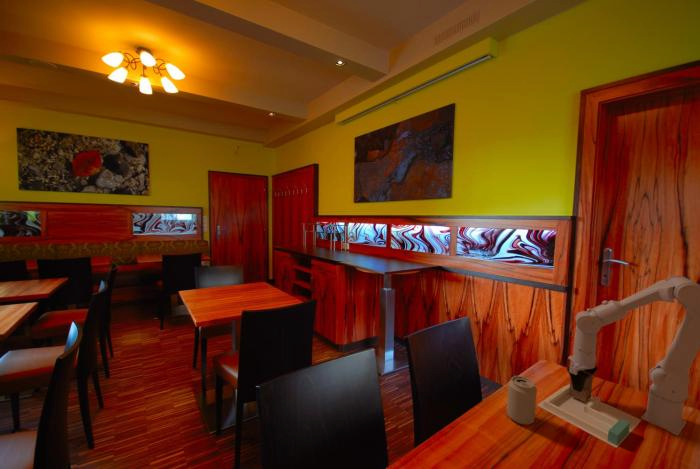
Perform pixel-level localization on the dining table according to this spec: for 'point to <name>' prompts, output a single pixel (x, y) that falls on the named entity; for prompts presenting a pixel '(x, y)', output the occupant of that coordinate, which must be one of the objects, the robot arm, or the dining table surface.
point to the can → (521, 400)
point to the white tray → (591, 416)
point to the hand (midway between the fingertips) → (580, 387)
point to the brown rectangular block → (586, 390)
